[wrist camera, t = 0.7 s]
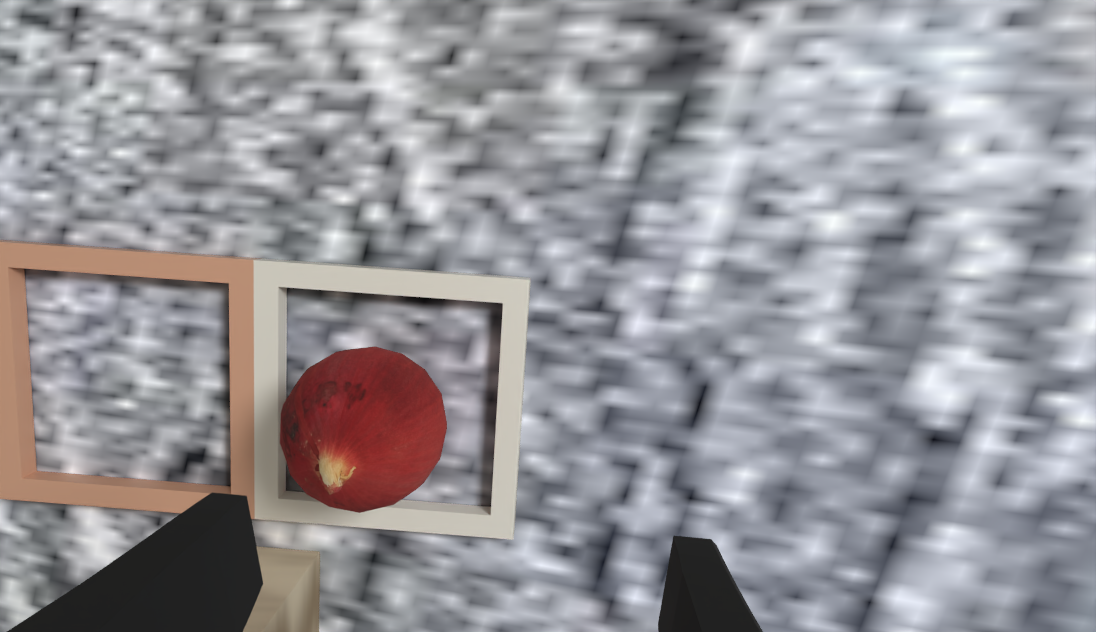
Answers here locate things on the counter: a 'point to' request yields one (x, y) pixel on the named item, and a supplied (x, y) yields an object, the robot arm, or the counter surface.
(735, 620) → the robot arm
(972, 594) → the counter surface
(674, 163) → the counter surface
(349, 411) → the onion
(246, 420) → the terracotta frame
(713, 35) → the counter surface
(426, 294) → the cream frame
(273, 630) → the birch block
